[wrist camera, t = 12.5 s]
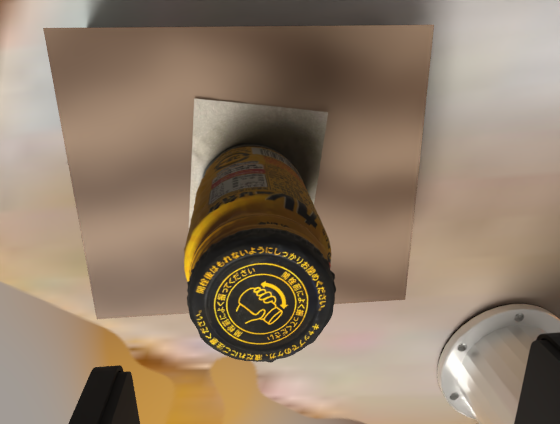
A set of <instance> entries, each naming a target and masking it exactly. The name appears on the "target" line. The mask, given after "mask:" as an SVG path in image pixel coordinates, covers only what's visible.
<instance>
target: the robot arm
mask: <svg viewBox="0 0 560 424" xmlns="http://www.w3.org/2000/svg"><path fill="white" fill-rule="evenodd" d="M437 378H438V383H439V387H440V389H441V391H442V393H443V395H444V397H445V398H446V400H447V401H448V403H449V404H450V406H451V407H453V408H454V409H455V410H456V411H457V412H459V413H461V414H463V415H464V416H466V417H470V418H473V419H476V420H477V422H478V424H560V319H559V318H557V317H556V316H555V315H554V314H552V313H551V312H549V311H548V310H546V309H543V308H541V307H538V306H535V305H528V304H510V305H505V306H499V307H496V308H493V309H491V310H488V311H485V312H483V313H481V314H480V315H478V316H476V317H474V318H472V319H471V320H470V321H468V322H467V323H466V324H464V325H463V326H462V327H461V328H460V329H459V330H458V331H457V332H456V333H455V334H454V335H453V336H452V337H451V339H450V340H449V341H448V343H447V344H446V346H445V348H444V350H443V352H442V354H441V356H440V359H439V363H438V369H437ZM69 424H140V421H139V416H138V409H137V404H136V397H135V391H134V386H133V380H132V375H131V372H123V369H122V367H121V366H106V367H95V368H94V369H93V370H92V372H91V374H90V376H89V378H88V380H87V383H86V385H85V387H84V389H83V392H82V394H81V396H80V399H79V401H78V404H77V406H76V408H75V410H74V412H73V415H72V417H71V419H70V422H69Z"/></svg>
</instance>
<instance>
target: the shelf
mask: <svg viewBox="0 0 560 424" xmlns="http://www.w3.org/2000/svg"><path fill="white" fill-rule="evenodd" d="M43 29H44V34H45V40H46V45H47V51H48V56H49V62H50V67H51V72H52V78H53V83H54V89H55V94H56V100H57V105H58V110H59V116H60V121H61V127H62V132H63V138H64V143H65V149H66V154H67V159H68V165H69V170H70V176H71V181H72V187H73V192H74V197H75V203H76V208H77V214H78V219H79V225H80V230H81V236H82V241H83V246H84V252H85V257H86V263H87V268H88V274H89V279H90V284H91V290H92V295H93V301H94V306H95V312H96V317H97V319H105V318H121V317H137V316H152V315H168V314H184V313H189V308H188V305H187V296H188V292H187V289H188V284H187V282H188V281H187V279H186V275H185V271H184V248H185V245H186V240H187V236H188V231H189V209H190V186H191V162H192V143H193V141H192V138H193V116H194V99H204V100H214V101H225V102H234V103H245V104H255V105H265V106H275V107H284V108H294V109H303V110H312V111H321V112H328V117H327V124H326V131H325V137H324V142H323V149H322V157H321V162H320V171H319V177H318V181H317V188H316V194H315V201H314V207H315V209H316V211H317V213H318V215H319V217H320V219H321V222H322V224H323V226H324V228H325V231H326V233H327V236H328V238H329V241H330V246H331V254H332V255H331V267H330V270H331V271H332V272H333V273H334V274H335V279H334V283H335V286H336V292H335V304H342V303H358V302H374V301H389V300H405V295H406V286H407V276H408V267H409V257H410V248H411V239H412V229H413V220H414V210H415V201H416V191H417V182H418V172H419V163H420V153H421V144H422V134H423V125H424V115H425V106H426V96H427V87H428V77H429V68H430V58H431V49H432V39H433V30H434V25H354V26H236V27H118V28H43Z"/></svg>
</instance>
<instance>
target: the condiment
mask: <svg viewBox="0 0 560 424" xmlns="http://www.w3.org/2000/svg"><path fill="white" fill-rule="evenodd" d="M327 117H328V112H321V111H312V110H303V109H294V108H284V107H275V106H265V105H255V104H245V103H234V102H225V101H214V100H204V99H194V116H193V138H192V141H193V143H192V162H191V186H190V209H189V231H188V236H187V240H186V245H185V248H184V271H185V275H186V279H187V281H188V282H187V284H188V289H187V292H188V296H187V305H188V308H189V314H190V318H191V320H192V322H193V323H194V324H195V326H196V328H197V329H198V331H199V334H200V337H201V338H202V339H203V341H204V342H205V343H207V344H208V345H209V346H211V347H212V348H213V349H215V350H217V351H219V352H221V353H222V354H224V355H227V356H229V357H231V358H234V359H239V360H244V361H257V362H258V361H263V362H264V361H267V362H273V361H274V360H276V359H280V358H286V357H288V356H291V355H293V354H295V353H296V352H298V351H300V350H302V349H303V348H305V347H306V346H307V345H309V344H311V343H313V342H314V341H315V340H316V338H317V337H318V336H319V334H320V333H321V332H322V330H323V329H324V327H325V326H326V325H327V323H328V322H329V320H330V318H331V316H332V313H333V305H334V304H335V292H336V286H335V283H334V279H335V274H334V273H333V272H332V271H331V270H330V267H331V255H332V254H331V246H330V241H329V238H328V236H327V233H326V231H325V228H324V226H323V224H322V222H321V219H320V217H319V215H318V213H317V211H316V209H315V207H314V201H315V194H316V188H317V181H318V177H319V171H320V162H321V157H322V149H323V142H324V137H325V131H326V124H327Z"/></svg>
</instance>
